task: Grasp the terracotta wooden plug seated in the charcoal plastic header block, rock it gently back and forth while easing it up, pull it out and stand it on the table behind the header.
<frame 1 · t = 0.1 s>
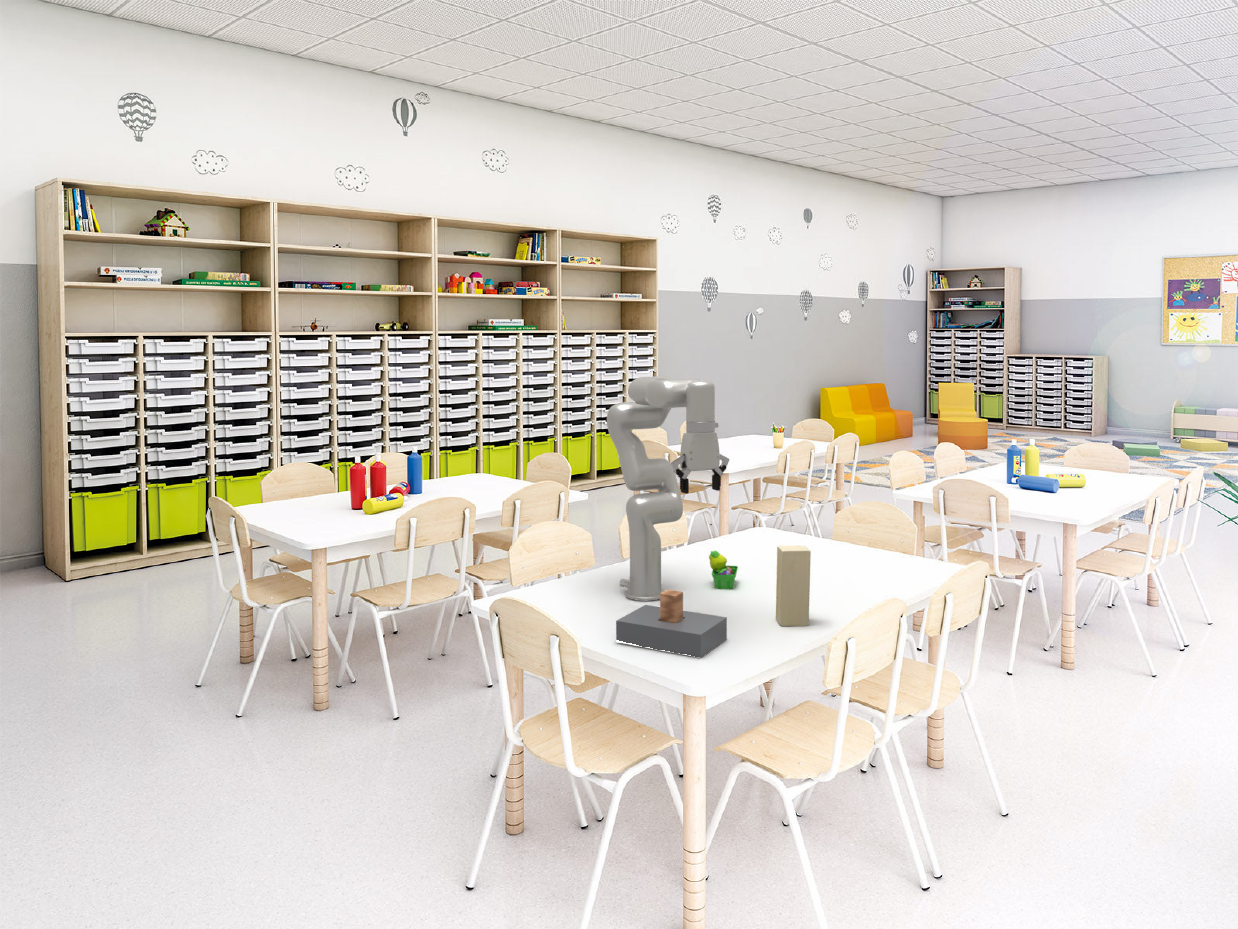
hand: (700, 491, 246), 37 cm above the table, tool pointing down, fingers open, 9 cm apart
plug: (671, 617, 238), in the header
fruit basket: (723, 586, 292), on the table
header: (671, 641, 239), on the table
toy refrigerator: (792, 623, 254), on the table
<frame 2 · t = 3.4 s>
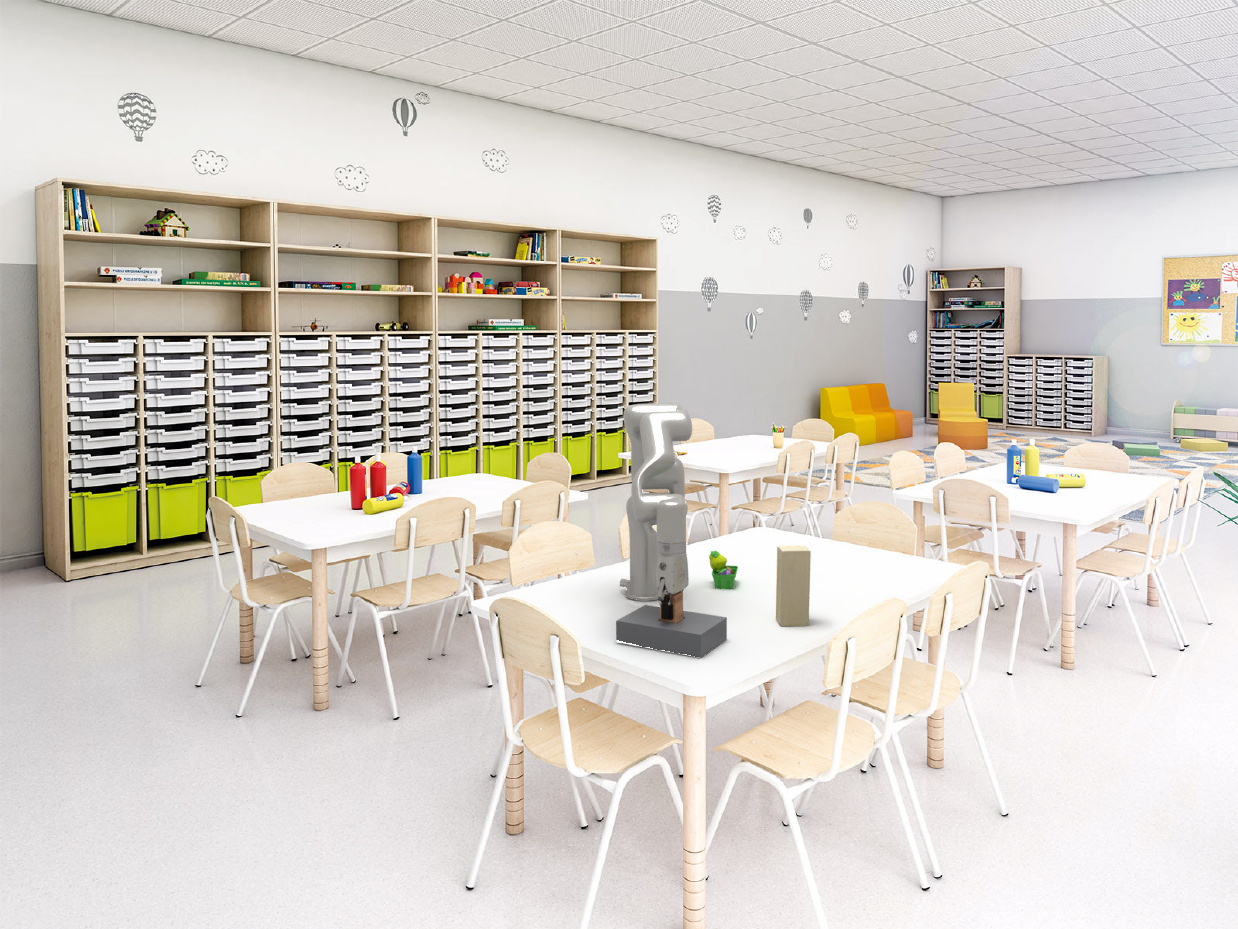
hand: (671, 615, 238), 7 cm above the table, tool pointing down, fingers closed on plug, 4 cm apart
plug: (671, 617, 238), in the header, touching gripper
everything else where it was.
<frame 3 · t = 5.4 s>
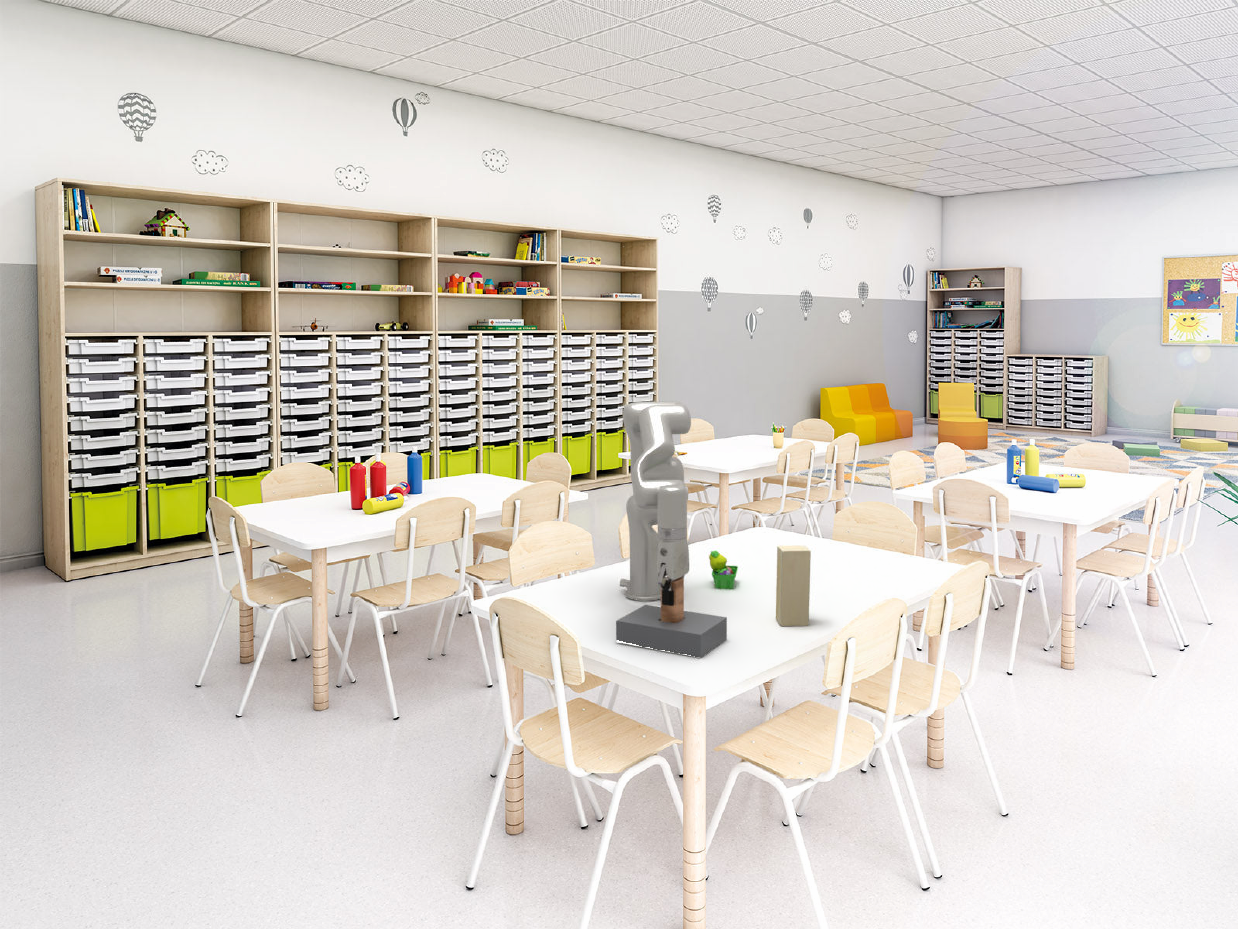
hand: (672, 601, 237), 11 cm above the table, tool pointing down, fingers closed on plug, 4 cm apart
plug: (672, 603, 237), point 10 cm above the table, touching gripper
everything else where it was.
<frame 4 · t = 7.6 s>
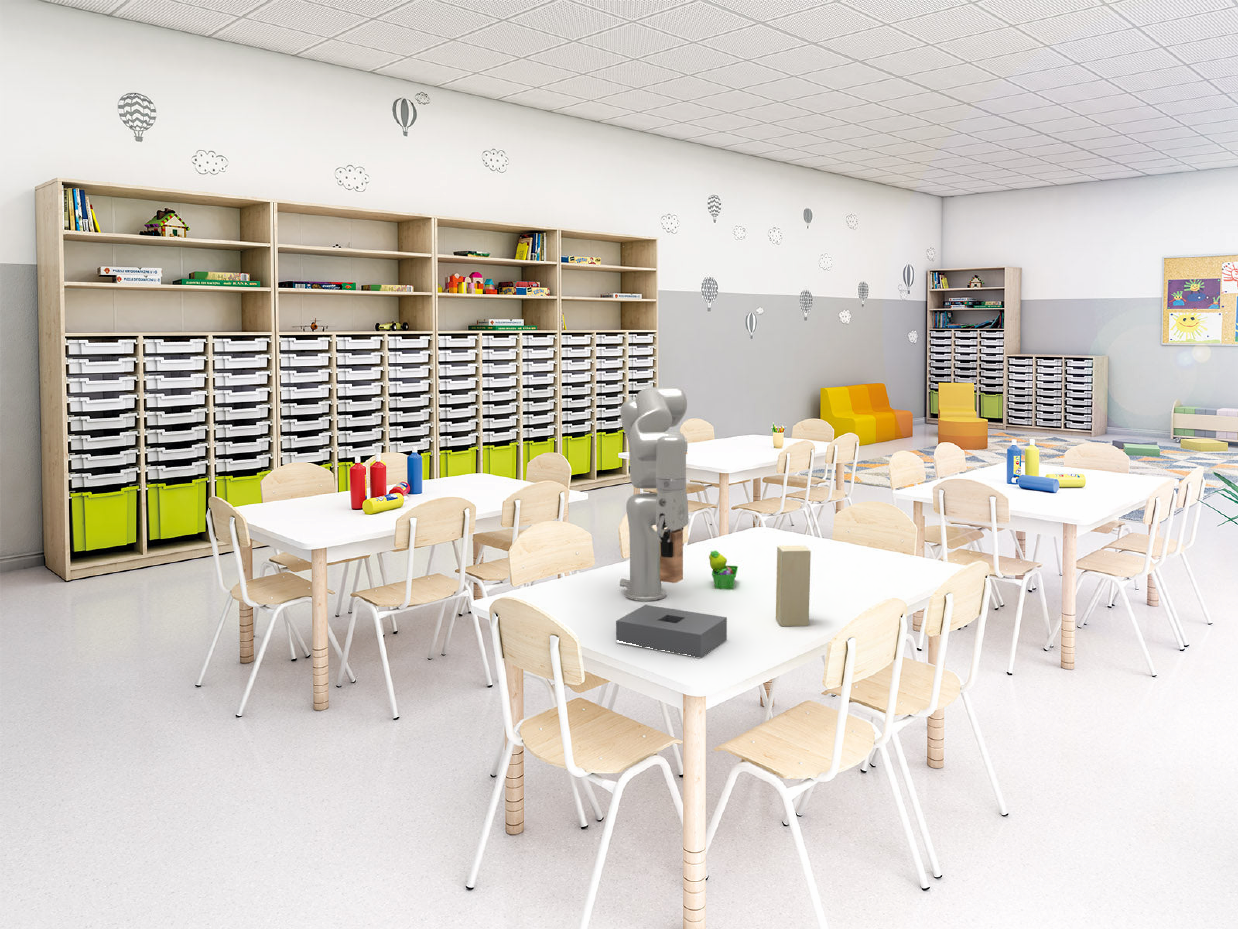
hand: (671, 554, 236), 23 cm above the table, tool pointing down, fingers closed on plug, 4 cm apart
plug: (671, 555, 236), point 23 cm above the table, touching gripper
everything else where it was.
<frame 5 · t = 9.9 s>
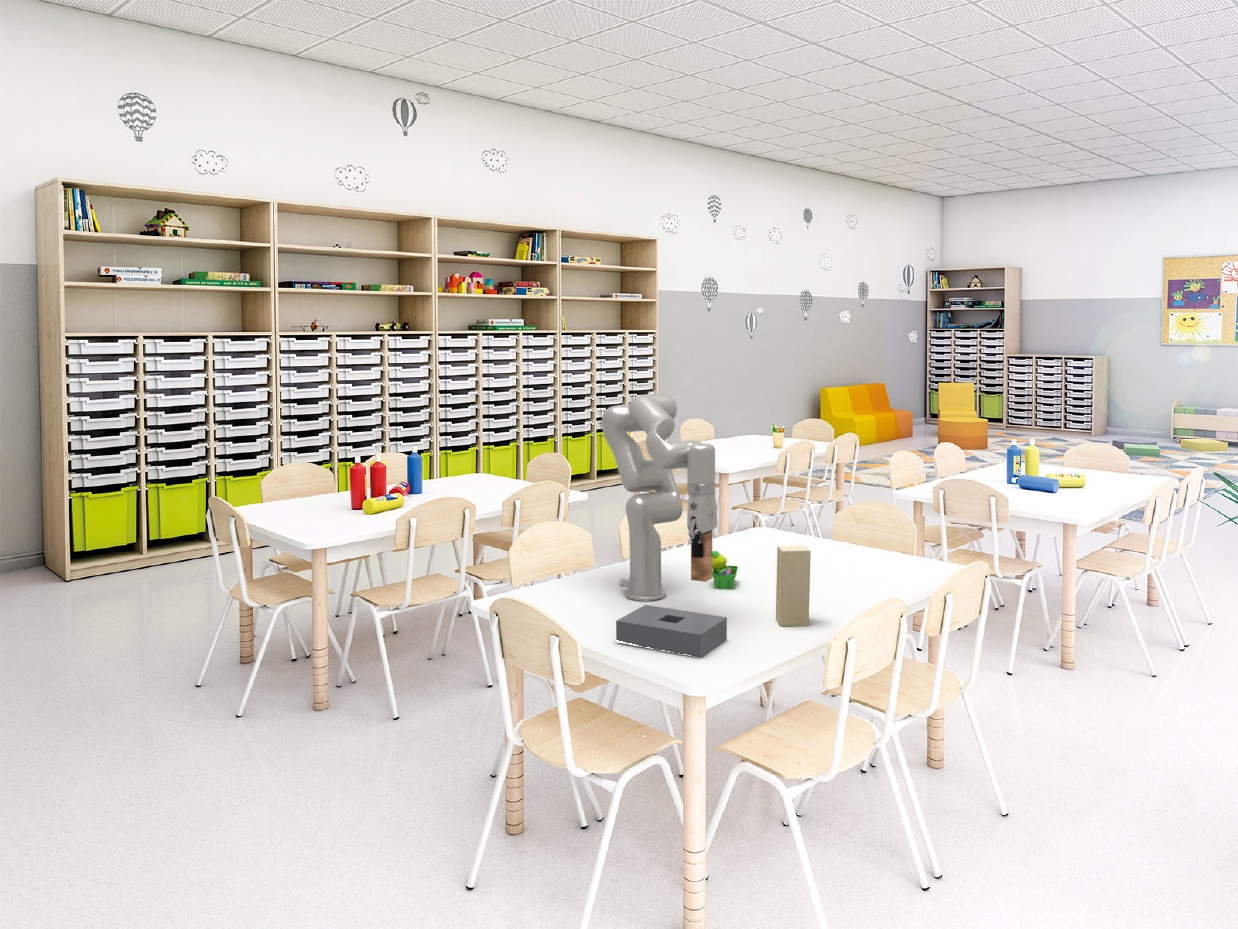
hand: (701, 554, 251), 19 cm above the table, tool pointing down, fingers closed on plug, 4 cm apart
plug: (701, 555, 251), point 19 cm above the table, touching gripper
everything else where it was.
when the fingers open (9 cm above the table, at t = 12.0 s): plug drops 2 cm, on the table.
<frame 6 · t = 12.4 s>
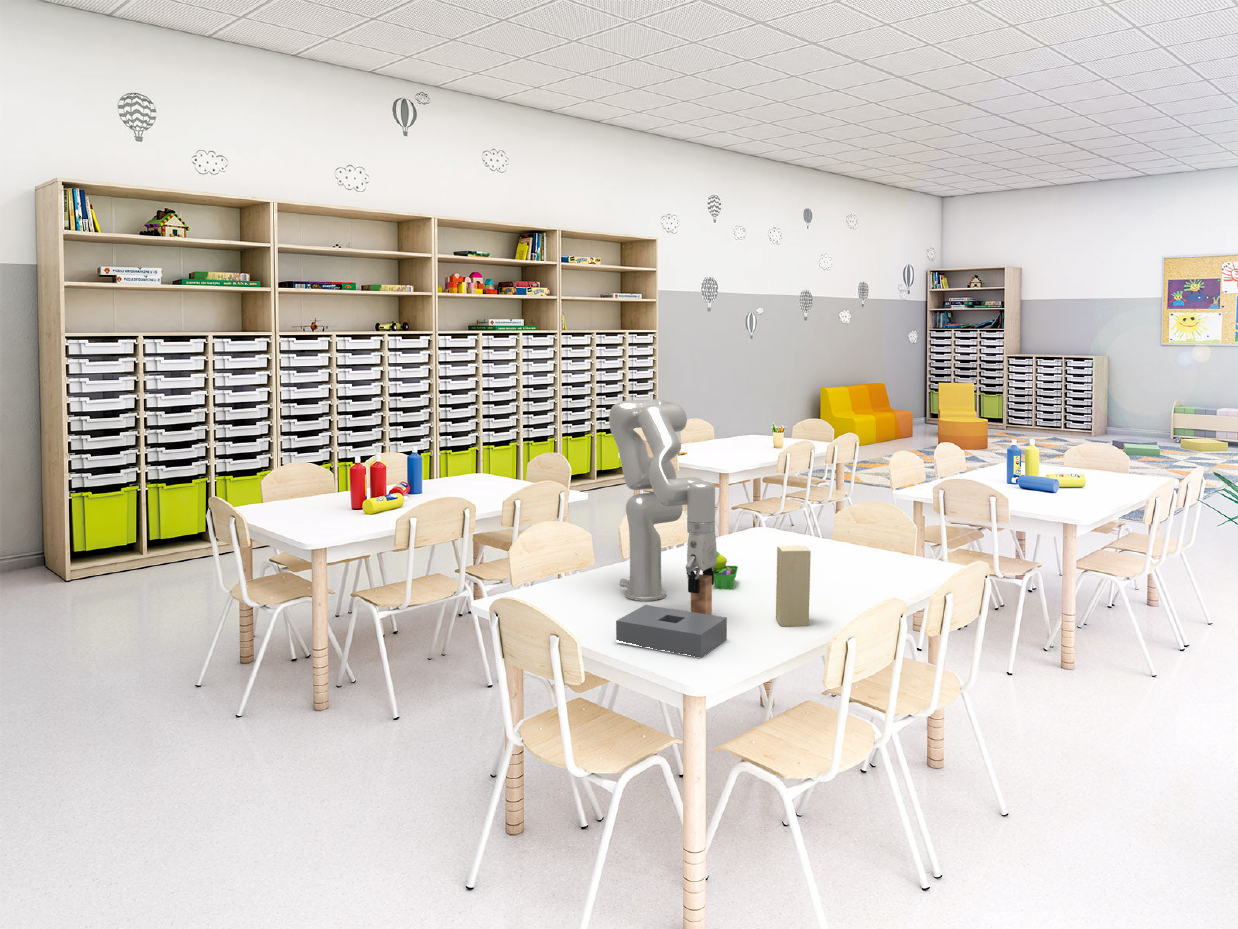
hand: (701, 588, 253), 10 cm above the table, tool pointing down, fingers open, 8 cm apart
plug: (701, 599, 253), on the table
everything else where it was.
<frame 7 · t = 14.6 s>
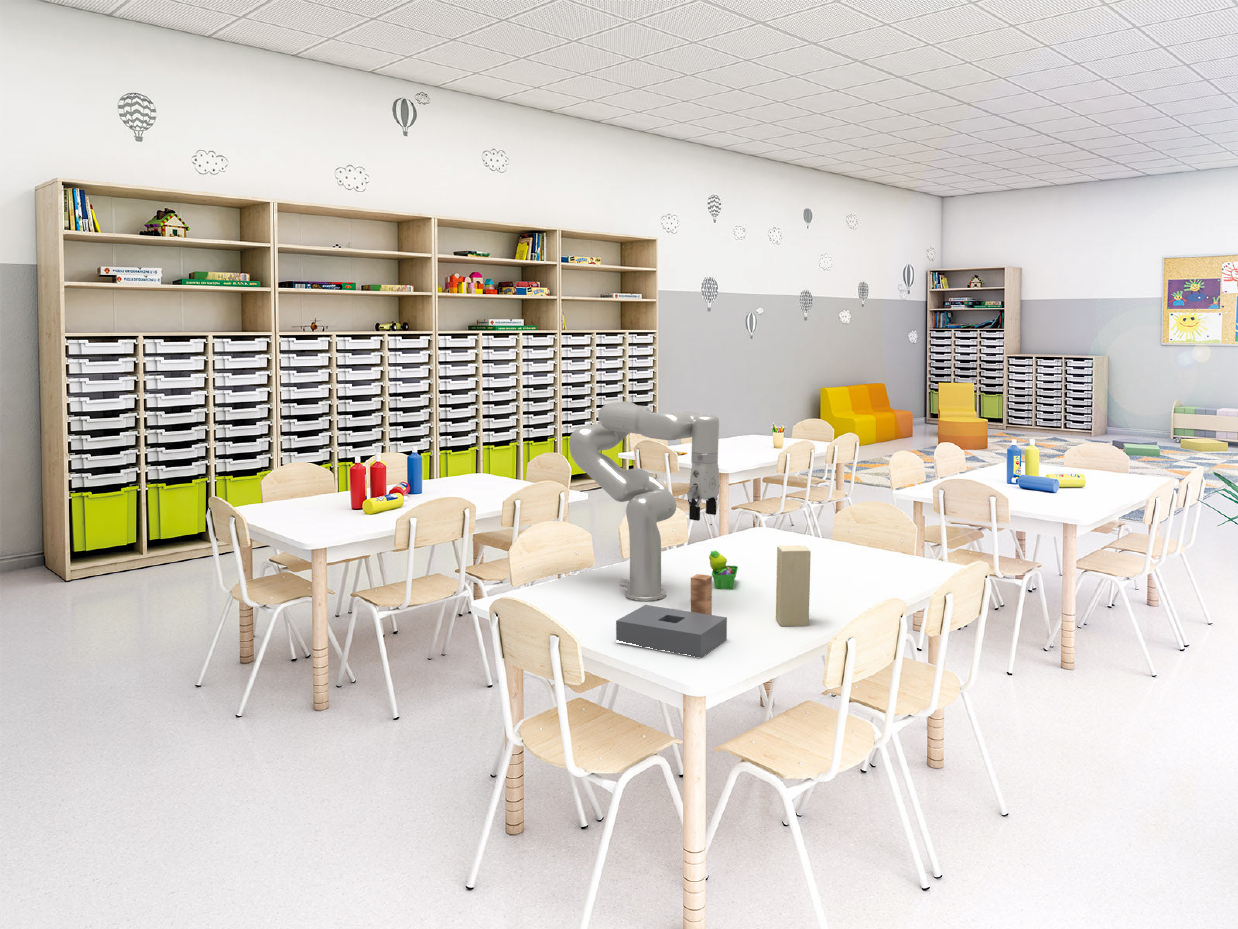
hand: (702, 517, 265), 27 cm above the table, tool pointing down, fingers open, 9 cm apart
nothing on the table moved.
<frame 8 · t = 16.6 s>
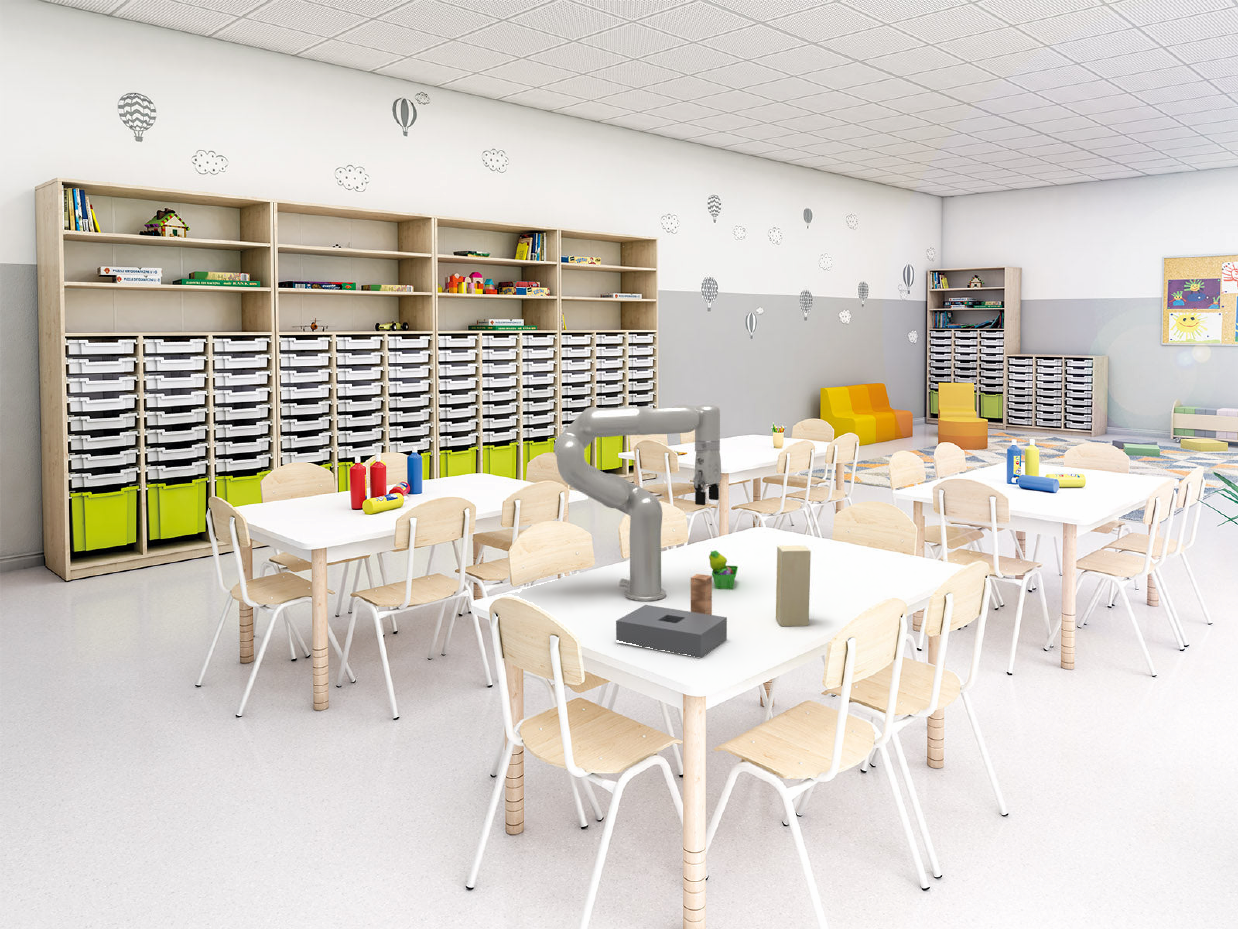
hand: (707, 502, 280), 28 cm above the table, tool pointing down, fingers open, 9 cm apart
nothing on the table moved.
at the end: plug inside the target area (0.0 cm from its centre), on the table; plug tilted 0°; the gripper is holding nothing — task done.
